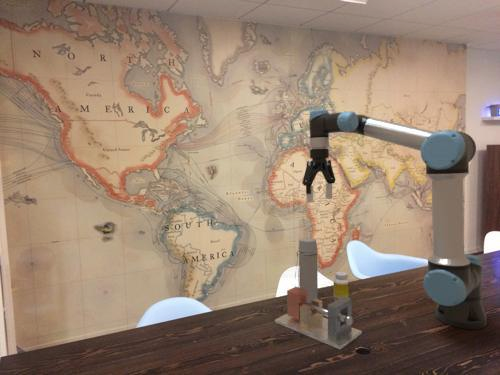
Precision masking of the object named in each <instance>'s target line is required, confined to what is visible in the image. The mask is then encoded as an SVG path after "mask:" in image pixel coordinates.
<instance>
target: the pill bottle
mask: <svg viewBox="0 0 500 375" xmlns="http://www.w3.org/2000/svg"><path fill="white" fill-rule="evenodd" d="M334 276H335V278H333V300H334V301H336V300H338V299H339V298H341V297H343V296H344V297H347V298H350V279H349V278H348V277H349V276H348V273H347V272H344V271H337V272H335V274H334Z"/></svg>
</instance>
